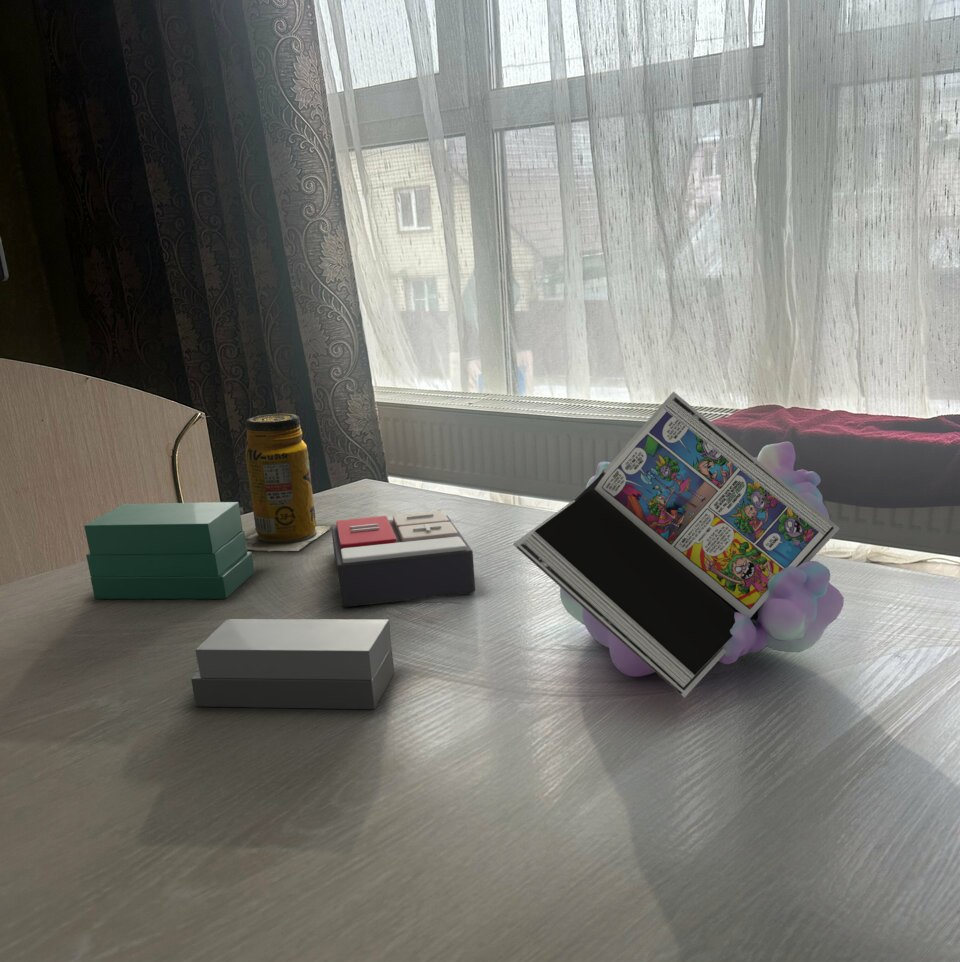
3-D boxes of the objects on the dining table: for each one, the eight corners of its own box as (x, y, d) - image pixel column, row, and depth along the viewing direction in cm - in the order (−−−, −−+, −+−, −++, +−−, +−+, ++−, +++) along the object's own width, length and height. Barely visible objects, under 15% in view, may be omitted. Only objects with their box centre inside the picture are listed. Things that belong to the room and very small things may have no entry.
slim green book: (89, 555, 85) (83, 525, 84) (128, 531, 91) (122, 503, 90) (212, 553, 83) (207, 523, 82) (242, 530, 90) (238, 501, 89)
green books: (94, 599, 86) (85, 555, 85) (132, 573, 93) (123, 531, 91) (226, 599, 85) (218, 553, 83) (255, 572, 91) (248, 530, 89)
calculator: (446, 506, 95) (473, 541, 81) (450, 550, 96) (476, 592, 82) (329, 517, 93) (336, 556, 79) (335, 562, 94) (342, 607, 80)
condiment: (332, 527, 104) (318, 410, 99) (298, 552, 96) (282, 427, 91) (268, 526, 105) (252, 411, 101) (229, 550, 98) (210, 427, 93)
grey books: (195, 706, 65) (185, 650, 64) (228, 671, 70) (219, 618, 69) (374, 709, 63) (368, 651, 62) (394, 673, 68) (389, 618, 67)
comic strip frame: (782, 519, 81) (676, 332, 73) (970, 591, 61) (851, 344, 54) (583, 674, 80) (458, 501, 73) (707, 796, 61) (553, 575, 54)
